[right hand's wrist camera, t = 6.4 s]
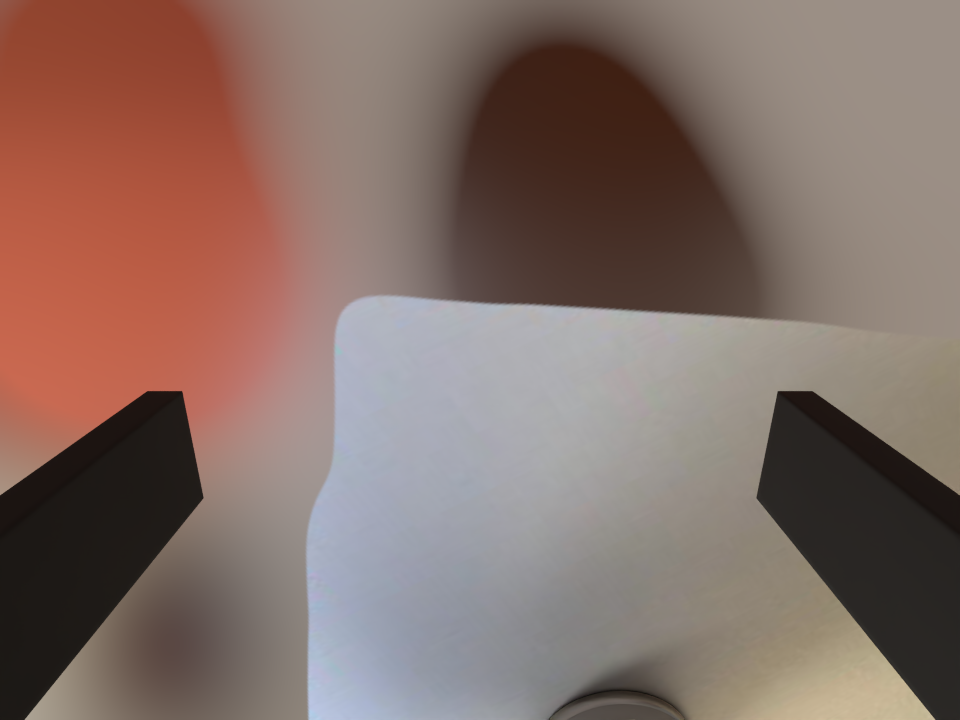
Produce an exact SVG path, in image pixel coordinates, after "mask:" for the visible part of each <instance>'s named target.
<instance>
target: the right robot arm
mask: <svg viewBox="0 0 960 720" xmlns="http://www.w3.org/2000/svg"><path fill="white" fill-rule="evenodd" d="M202 499H203V493H202V488H201V483H200V478H199V473H198V468H197V463H196V458H195V453H194V448H193V443H192V438H191V433H190V428H189V423H188V418H187V413H186V408H185V403H184V398H183V393H182V391H147V392H146V393H144V394H143V395H141V396H140V397H139V398H137V399H136V400H134V401H133V402H132V403H130V404H129V405H127V406H126V407H124V408H123V409H122V410H120V411H119V412H118V413H116V414H115V415H113V416H112V417H110V418H109V419H108V420H106V421H105V422H103V423H102V424H100V425H99V426H98V427H96V428H95V429H93V430H92V431H91V432H89V433H88V434H86V435H85V436H84V437H82V438H81V439H79V440H78V441H77V442H75V443H74V444H72V445H71V446H69V447H68V448H67V449H65V450H64V451H62V452H61V453H59V454H58V455H57V456H55V457H54V458H52V459H51V460H50V461H48V462H47V463H45V464H44V465H43V466H41V467H40V468H38V469H37V470H35V471H34V472H33V473H31V474H30V475H28V476H27V477H26V478H24V479H23V480H21V481H20V482H19V483H17V484H16V485H14V486H13V487H11V488H10V489H9V490H7V491H6V492H4V493H3V494H2V495H0V720H25V718H26V717H27V716H28V715H29V713H30V712H31V711H32V710H33V708H34V707H35V706H36V705H37V704H38V702H39V701H40V700H41V699H42V697H43V696H44V695H45V694H46V692H47V691H48V690H49V689H50V687H51V686H52V685H53V684H54V683H55V681H56V680H57V679H58V678H59V676H60V675H61V674H62V673H63V671H64V670H65V669H66V668H67V666H68V665H69V664H70V663H71V661H72V660H73V659H74V658H75V657H76V655H77V654H78V653H79V652H80V650H81V649H82V648H83V647H84V645H85V644H86V643H87V642H88V640H89V639H90V638H91V637H92V636H93V634H94V633H95V632H96V631H97V629H98V628H99V627H100V626H101V624H102V623H103V622H104V621H105V619H106V618H107V617H108V616H109V614H110V613H111V612H112V611H113V610H114V608H115V607H116V606H117V605H118V603H119V602H120V601H121V600H122V598H123V597H124V596H125V595H126V593H127V592H128V591H129V590H130V588H131V587H132V586H133V585H134V583H135V582H136V581H137V580H138V579H139V577H140V576H141V575H142V574H143V572H144V571H145V570H146V569H147V567H148V566H149V565H150V564H151V562H152V561H153V560H154V559H155V558H156V556H157V555H158V554H159V553H160V551H161V550H162V549H163V548H164V546H165V545H166V544H167V543H168V541H169V540H170V539H171V538H172V536H173V535H174V534H175V533H176V532H177V530H178V529H179V528H180V527H181V525H182V524H183V523H184V522H185V520H186V519H187V518H188V517H189V515H190V514H191V513H192V512H193V510H194V509H195V508H196V507H197V505H198V504H199V503H200V502H201V501H202ZM757 499H758V501H759V502H760V503H761V504H762V506H763V507H764V508H765V509H766V510H767V512H768V513H769V514H770V515H771V517H772V518H773V519H774V520H775V522H776V523H777V524H778V525H779V527H780V528H781V529H782V530H783V532H784V533H785V534H786V535H787V536H788V538H789V539H790V540H791V541H792V543H793V544H794V545H795V546H796V548H797V549H798V550H799V551H800V553H801V554H802V555H803V556H804V558H805V559H806V560H807V561H808V562H809V564H810V565H811V566H812V567H813V569H814V570H815V571H816V572H817V574H818V575H819V576H820V577H821V579H822V580H823V581H824V582H825V584H826V585H827V586H828V587H829V588H830V590H831V591H832V592H833V593H834V595H835V596H836V597H837V598H838V600H839V601H840V602H841V603H842V605H843V606H844V607H845V608H846V610H847V611H848V612H849V613H850V614H851V616H852V617H853V618H854V619H855V621H856V622H857V623H858V624H859V626H860V627H861V628H862V629H863V631H864V632H865V633H866V634H867V636H868V637H869V638H870V639H871V640H872V642H873V643H874V644H875V645H876V647H877V648H878V649H879V650H880V652H881V653H882V654H883V655H884V657H885V658H886V659H887V660H888V662H889V663H890V664H891V665H892V666H893V668H894V669H895V670H896V671H897V673H898V674H899V675H900V676H901V678H902V679H903V680H904V681H905V683H906V684H907V685H908V686H909V688H910V689H911V690H912V691H913V692H914V694H915V695H916V696H917V697H918V699H919V700H920V701H921V702H922V704H923V705H924V706H925V707H926V709H927V710H928V711H929V712H930V714H931V715H932V716H933V717H934V718H935V720H960V495H958V494H957V493H956V492H954V491H953V490H951V489H950V488H949V487H947V486H946V485H944V484H943V483H941V482H940V481H939V480H937V479H936V478H934V477H933V476H932V475H930V474H929V473H927V472H926V471H925V470H923V469H922V468H920V467H919V466H917V465H916V464H915V463H913V462H912V461H910V460H909V459H908V458H906V457H905V456H903V455H902V454H901V453H899V452H898V451H896V450H895V449H893V448H892V447H891V446H889V445H888V444H886V443H885V442H884V441H882V440H881V439H879V438H878V437H877V436H875V435H874V434H872V433H871V432H869V431H868V430H867V429H865V428H864V427H862V426H861V425H860V424H858V423H857V422H855V421H854V420H852V419H851V418H850V417H848V416H847V415H845V414H844V413H843V412H841V411H840V410H838V409H837V408H836V407H834V406H833V405H831V404H830V403H828V402H827V401H826V400H824V399H823V398H821V397H820V396H819V395H817V394H816V393H814V392H813V391H778V393H777V398H776V403H775V408H774V413H773V418H772V423H771V428H770V433H769V438H768V443H767V448H766V453H765V458H764V463H763V468H762V473H761V478H760V483H759V488H758V493H757ZM549 720H685V719H684V718H683V716H682V715H681V714H680V713H679V712H678V711H677V710H676V709H675V708H674V707H672V706H671V705H670V704H668V703H666V702H665V701H663V700H661V699H659V698H656V697H654V696H651V695H647V694H644V693H638V692H631V691H610V692H602V693H597V694H593V695H589V696H586V697H583V698H580V699H578V700H576V701H574V702H572V703H570V704H568V705H566V706H565V707H563V708H562V709H560V710H559V711H558V712H557V713H555V714H554V715H553V716H552V717H551V718H550V719H549Z"/></svg>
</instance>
